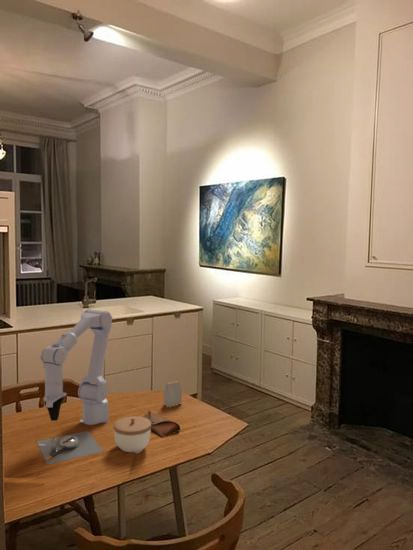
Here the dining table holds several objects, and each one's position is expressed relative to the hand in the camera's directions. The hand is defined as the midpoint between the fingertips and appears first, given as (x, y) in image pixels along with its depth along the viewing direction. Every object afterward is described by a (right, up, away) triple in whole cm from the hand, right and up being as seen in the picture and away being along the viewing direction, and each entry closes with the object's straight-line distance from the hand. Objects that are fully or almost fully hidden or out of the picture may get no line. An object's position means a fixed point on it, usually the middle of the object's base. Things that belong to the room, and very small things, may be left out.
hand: (54, 419), depth 155 cm
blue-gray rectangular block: (+38, -7, +40) cm, 56 cm away
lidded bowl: (+27, -10, 0) cm, 29 cm away
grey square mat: (+6, -10, -2) cm, 11 cm away
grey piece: (+4, -8, -4) cm, 10 cm away
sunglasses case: (+33, -9, +17) cm, 39 cm away
